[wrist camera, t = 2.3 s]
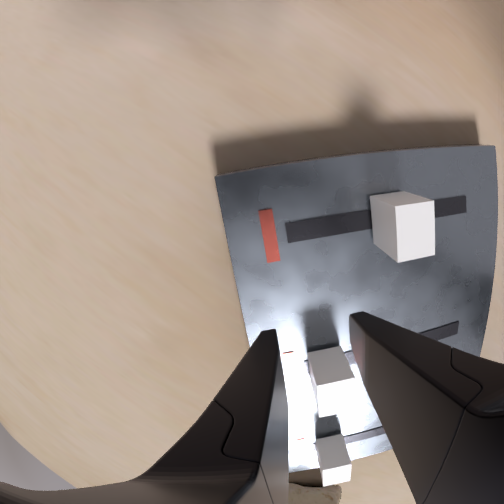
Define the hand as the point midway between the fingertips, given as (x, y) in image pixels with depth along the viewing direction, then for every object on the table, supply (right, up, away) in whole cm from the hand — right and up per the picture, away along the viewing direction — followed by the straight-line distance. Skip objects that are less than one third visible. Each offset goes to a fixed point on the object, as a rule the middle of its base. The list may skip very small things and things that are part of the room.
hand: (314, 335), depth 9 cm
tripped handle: (+7, +4, +10) cm, 13 cm away
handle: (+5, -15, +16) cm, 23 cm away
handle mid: (+3, -6, +13) cm, 15 cm away
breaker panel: (+8, -4, +15) cm, 18 cm away
